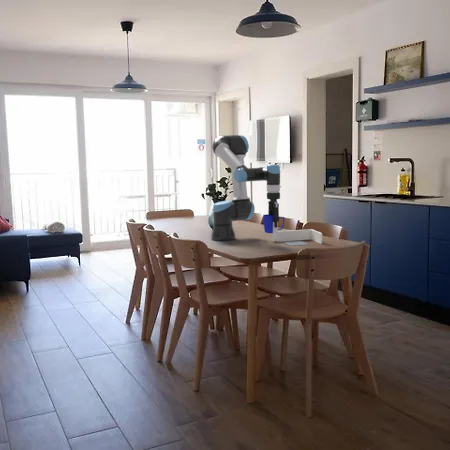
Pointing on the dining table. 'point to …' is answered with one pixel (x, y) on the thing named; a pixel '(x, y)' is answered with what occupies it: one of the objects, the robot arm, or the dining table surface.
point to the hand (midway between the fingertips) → (273, 231)
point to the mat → (295, 243)
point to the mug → (269, 223)
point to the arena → (297, 235)
